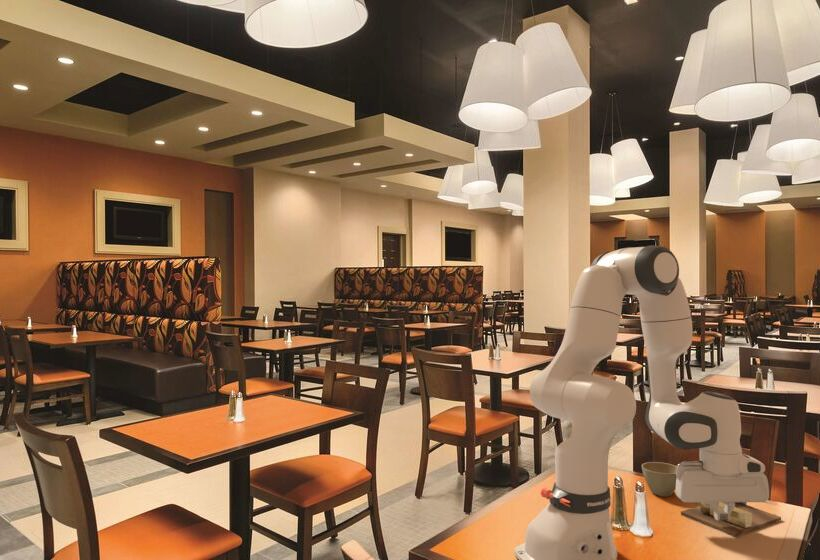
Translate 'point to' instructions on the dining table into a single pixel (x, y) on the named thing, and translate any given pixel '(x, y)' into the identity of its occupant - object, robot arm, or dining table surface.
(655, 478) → the flower pot
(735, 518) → the bar
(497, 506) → the dining table surface
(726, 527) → the brown wooden board
